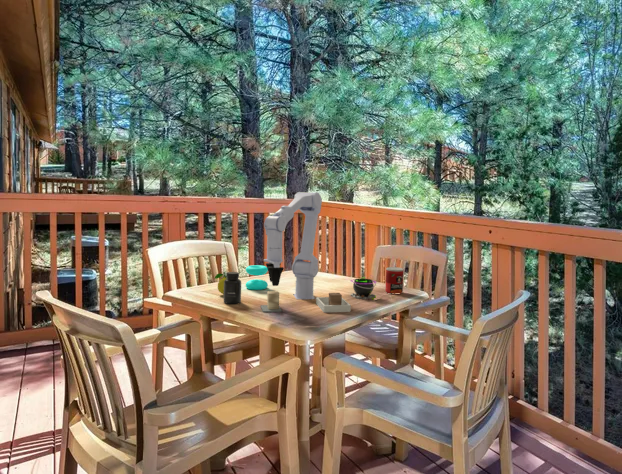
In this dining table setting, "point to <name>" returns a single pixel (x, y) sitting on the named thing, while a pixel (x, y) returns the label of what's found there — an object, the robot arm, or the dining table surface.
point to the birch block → (273, 300)
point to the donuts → (256, 283)
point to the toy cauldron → (363, 288)
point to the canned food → (394, 280)
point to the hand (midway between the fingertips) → (274, 283)
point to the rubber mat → (265, 309)
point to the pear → (221, 282)
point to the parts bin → (325, 307)
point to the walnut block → (335, 299)
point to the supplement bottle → (232, 288)
